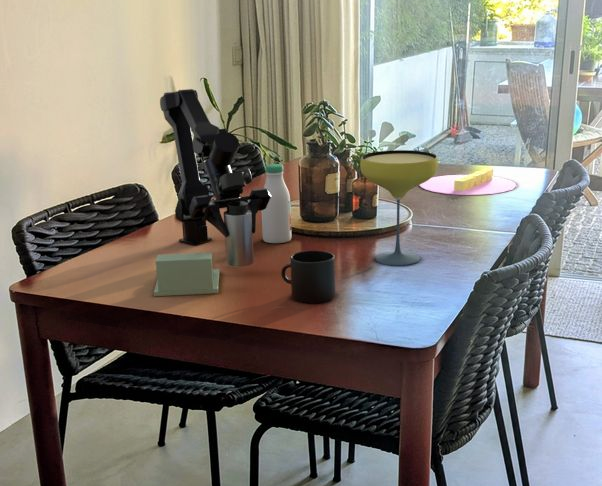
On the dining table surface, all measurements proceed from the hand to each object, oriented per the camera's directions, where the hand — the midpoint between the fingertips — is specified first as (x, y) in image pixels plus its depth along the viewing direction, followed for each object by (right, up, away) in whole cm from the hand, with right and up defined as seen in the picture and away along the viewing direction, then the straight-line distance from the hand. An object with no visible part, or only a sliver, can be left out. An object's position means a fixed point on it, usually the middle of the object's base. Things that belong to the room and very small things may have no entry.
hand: (240, 234), depth 198 cm
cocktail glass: (+38, -5, +13) cm, 40 cm away
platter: (+70, +27, +91) cm, 118 cm away
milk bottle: (+8, +2, +32) cm, 33 cm away
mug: (+15, -15, -11) cm, 24 cm away
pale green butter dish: (-12, -12, -1) cm, 17 cm away
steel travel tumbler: (0, -6, +4) cm, 7 cm away
